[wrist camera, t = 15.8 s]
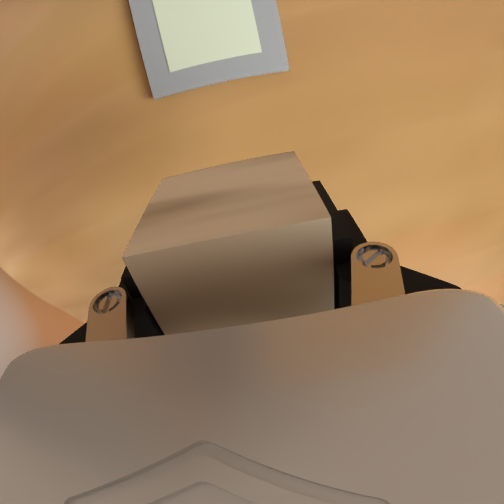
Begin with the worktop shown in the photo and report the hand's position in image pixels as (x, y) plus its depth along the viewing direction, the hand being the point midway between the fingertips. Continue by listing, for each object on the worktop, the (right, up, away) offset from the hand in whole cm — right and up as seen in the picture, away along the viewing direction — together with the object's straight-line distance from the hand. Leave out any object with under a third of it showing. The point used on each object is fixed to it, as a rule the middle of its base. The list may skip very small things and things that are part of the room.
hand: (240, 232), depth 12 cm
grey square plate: (-3, +16, +5) cm, 17 cm away
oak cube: (0, +1, +1) cm, 1 cm away
